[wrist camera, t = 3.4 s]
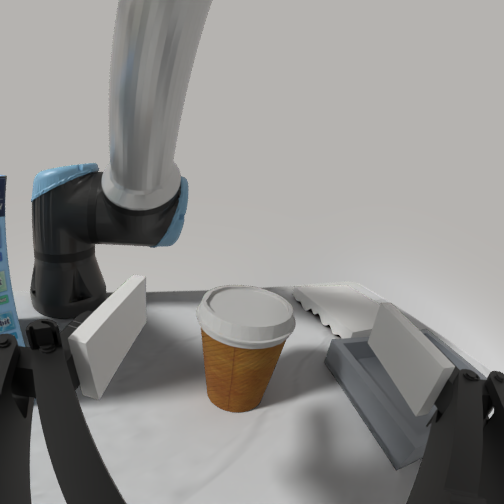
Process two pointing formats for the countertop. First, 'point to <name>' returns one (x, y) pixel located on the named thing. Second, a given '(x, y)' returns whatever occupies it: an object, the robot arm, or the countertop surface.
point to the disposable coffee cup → (242, 342)
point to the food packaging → (340, 308)
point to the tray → (384, 396)
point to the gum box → (6, 279)
